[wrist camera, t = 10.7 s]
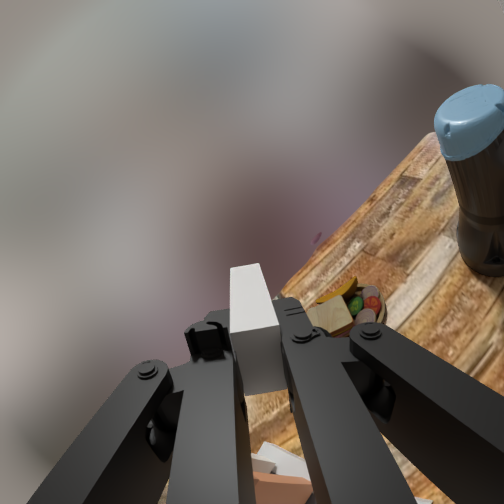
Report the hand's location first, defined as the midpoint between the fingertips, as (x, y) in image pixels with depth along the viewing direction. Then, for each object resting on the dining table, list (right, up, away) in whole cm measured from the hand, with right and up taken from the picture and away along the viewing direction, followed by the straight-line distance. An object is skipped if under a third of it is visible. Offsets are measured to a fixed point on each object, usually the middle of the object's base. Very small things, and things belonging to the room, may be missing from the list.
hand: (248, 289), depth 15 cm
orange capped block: (+6, -28, +8) cm, 30 cm away
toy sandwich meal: (+16, -10, +28) cm, 34 cm away
